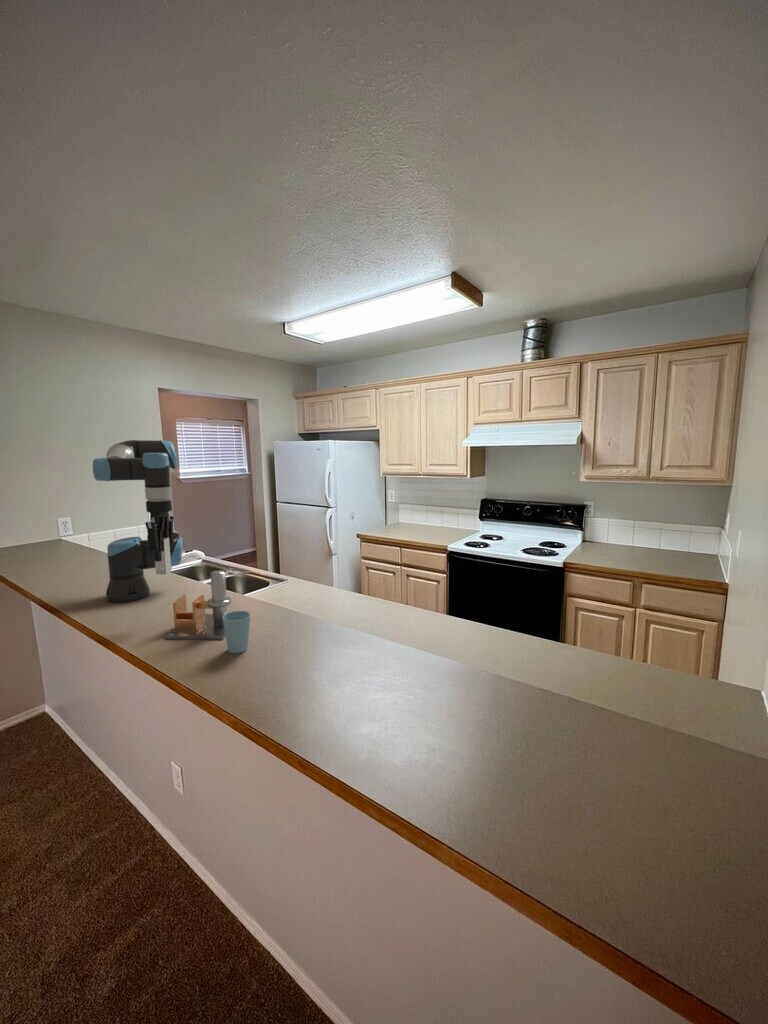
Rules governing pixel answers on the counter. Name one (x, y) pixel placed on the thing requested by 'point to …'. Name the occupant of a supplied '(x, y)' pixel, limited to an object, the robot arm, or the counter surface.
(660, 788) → the counter surface
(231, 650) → the cup
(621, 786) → the counter surface
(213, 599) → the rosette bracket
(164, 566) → the robot arm
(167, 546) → the light grey block
